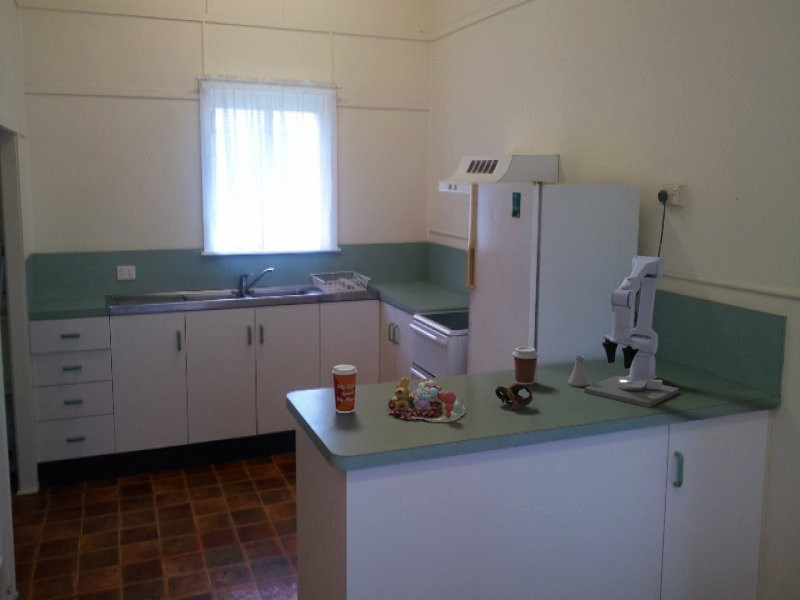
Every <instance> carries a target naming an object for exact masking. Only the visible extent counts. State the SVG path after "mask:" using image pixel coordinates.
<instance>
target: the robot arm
mask: <svg viewBox="0 0 800 600" xmlns="http://www.w3.org/2000/svg"><path fill="white" fill-rule="evenodd" d="M630 267H631V273H630V276H626V277H625V278H624V279H623V281H622V283H621V284H620V285H619V287H618V288H616V289H615V290H614V289H613V290H612V293H611V297H610V305H611V312H612V326H611V327H612V328H611V329H612V330H611V334H609V333H604V334H603V336H602V341H603V342H602V343H601V345H602V347H603V348H604V350H605V354H606V358H607V363H608V364H614V363H615V360H616V354H617V348H618V345H621V346H623V347H621V350H622V353H623V368H624V369H629V374H628V375H627V376H626V375H625V377H638V378H642V379H645V380H646V379H654V380H655V379H657V378H658V376H657V375H656V363H657V362H656V357H655V354H657V352H658V347H659V340H658V339H659V335H658V333H657V332H656V331H655V330H654V329H653V328H652V322H653V314H654V305H655V298H656V289H657V285H658V282H662V279H663V276H664V269H665V263H664V259H663V257H661V256H659V257H658V256H643V255H634V256H633V258H632V260H631V266H630ZM640 289H641V291H640V298H639V306H638V307H639V308H638V314H637V322H636V327H634V328H632V329H631V323H632V321H631V320H632V319H631V318H632V308H633V307H634V305H635V301H636V297H637V296H636V295H637V293H638V292H639V290H640ZM625 346H626V347H625Z"/></svg>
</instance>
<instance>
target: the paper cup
mask: <svg viewBox="0 0 800 600" xmlns="http://www.w3.org/2000/svg"><path fill="white" fill-rule="evenodd" d="M357 372H358V370H357V367H356V366H355V365H351V364H338V365H337V364H336V365H335V366H333V368H332V371H331V373H332V374H333V375H332V376H333V377H332V378H333V393H334V403H335V410H336V409H337V410H339V411H351V410H353V409H354V410H355V405H356V404H355V400H356V386H357V385H356V383H357V382H356V380H357Z"/></svg>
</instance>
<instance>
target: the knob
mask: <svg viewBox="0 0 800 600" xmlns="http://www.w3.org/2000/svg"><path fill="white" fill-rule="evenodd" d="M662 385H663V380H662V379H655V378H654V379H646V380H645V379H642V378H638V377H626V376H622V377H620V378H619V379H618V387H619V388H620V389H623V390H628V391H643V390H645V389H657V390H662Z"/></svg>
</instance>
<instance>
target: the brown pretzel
mask: <svg viewBox="0 0 800 600" xmlns="http://www.w3.org/2000/svg"><path fill="white" fill-rule="evenodd" d="M509 386H510V387H505V386H503V385H502V386H501V385H500V386H497V387H496V388H495V391H494V392H495V395H496V397H497V398H498V399H500V401H501V402H502V404H503V403H505V402H507V403H508V402H511V403H512V405H511V407H510V408H511V409H512V410H513V411H517V410H518V409H520V408H523V407H527V406H529V405H530V404H532V401H533V400H534V397H533V391H532V390H531V387H529V386H528V385H523V384H519V383H516V382H515V383H513V384H511V385H509ZM523 389H524V390H525V391H526V392H527V393H528V396H527V397H524V396H522V395H520V394H519V392H520V391H523Z"/></svg>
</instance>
